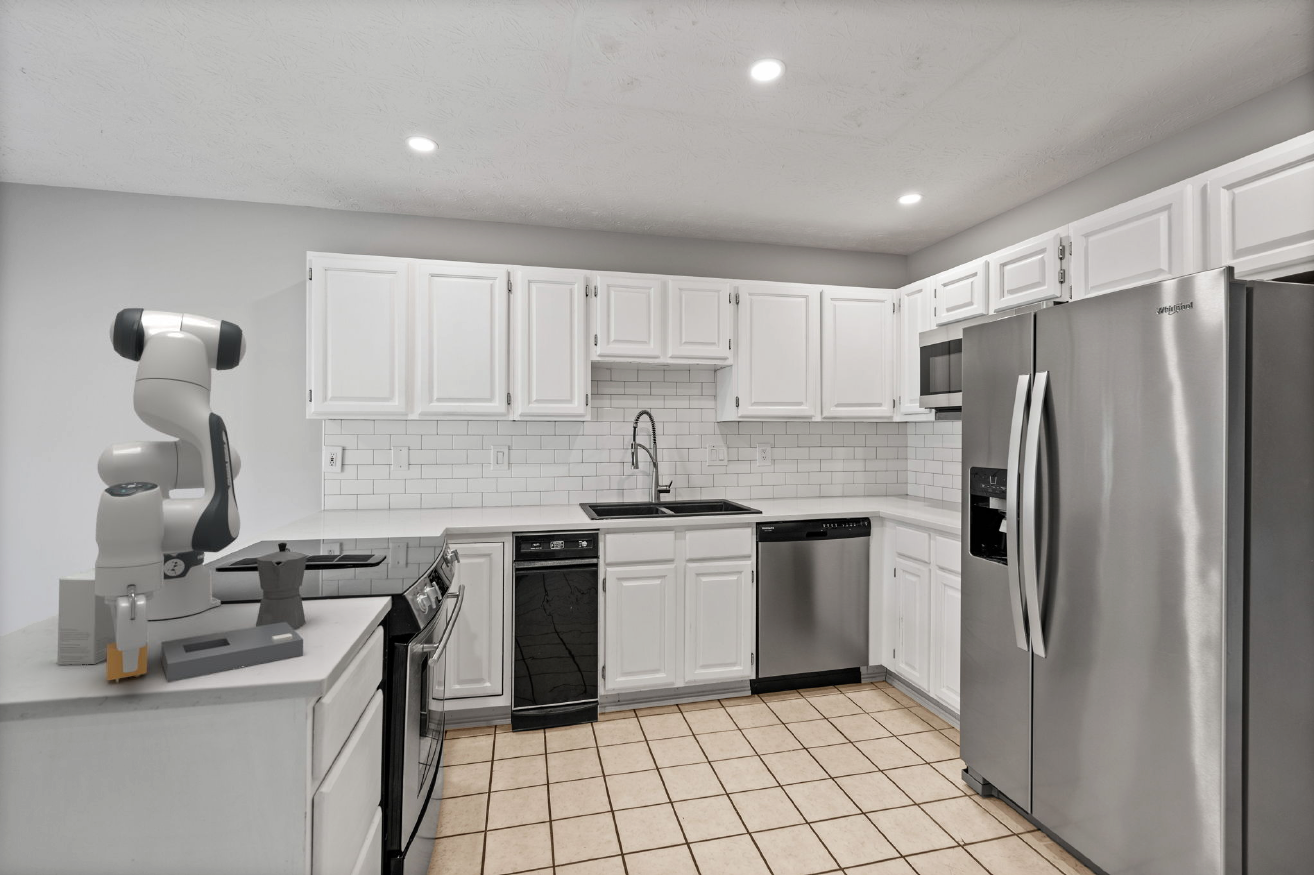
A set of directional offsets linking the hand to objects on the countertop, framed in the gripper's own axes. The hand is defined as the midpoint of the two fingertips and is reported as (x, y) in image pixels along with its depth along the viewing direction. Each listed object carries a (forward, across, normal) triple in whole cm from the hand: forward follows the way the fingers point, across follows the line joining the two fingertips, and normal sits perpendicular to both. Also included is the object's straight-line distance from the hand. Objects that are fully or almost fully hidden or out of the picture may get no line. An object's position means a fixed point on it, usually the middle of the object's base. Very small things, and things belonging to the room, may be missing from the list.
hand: (128, 662), depth 104 cm
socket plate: (+3, +1, -15) cm, 15 cm away
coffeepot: (+3, +17, -26) cm, 31 cm away
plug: (+3, 0, 0) cm, 3 cm away
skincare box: (+3, +16, +4) cm, 17 cm away
